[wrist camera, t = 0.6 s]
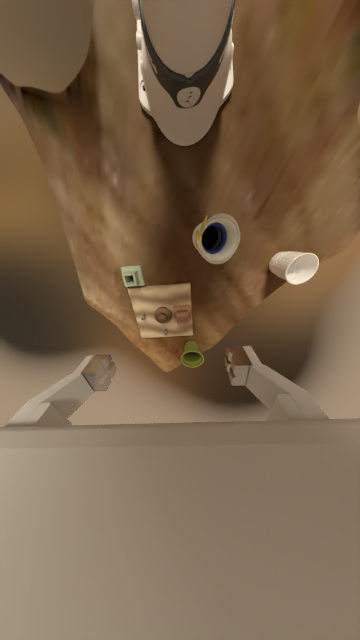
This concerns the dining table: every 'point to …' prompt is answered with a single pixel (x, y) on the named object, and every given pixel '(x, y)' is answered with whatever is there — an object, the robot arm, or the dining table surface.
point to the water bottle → (226, 238)
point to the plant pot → (192, 355)
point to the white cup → (294, 266)
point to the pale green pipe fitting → (137, 276)
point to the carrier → (163, 310)
